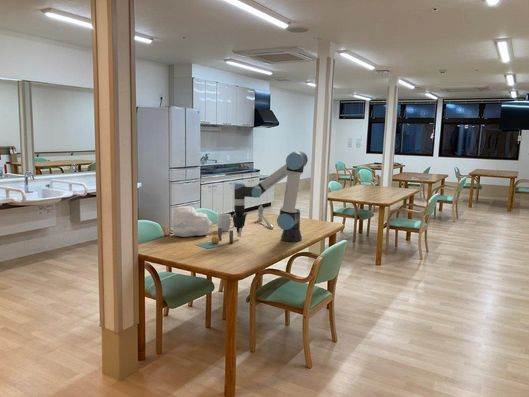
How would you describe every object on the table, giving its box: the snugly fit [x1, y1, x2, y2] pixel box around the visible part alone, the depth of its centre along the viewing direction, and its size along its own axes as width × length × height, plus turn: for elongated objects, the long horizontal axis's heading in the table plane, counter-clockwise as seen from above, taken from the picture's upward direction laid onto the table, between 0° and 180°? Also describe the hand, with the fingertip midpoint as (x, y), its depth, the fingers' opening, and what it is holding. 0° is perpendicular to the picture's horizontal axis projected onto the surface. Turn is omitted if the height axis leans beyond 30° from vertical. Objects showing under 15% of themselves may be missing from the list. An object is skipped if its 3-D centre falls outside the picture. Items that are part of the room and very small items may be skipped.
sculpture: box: [171, 205, 213, 238], centre depth 330 cm, size 26×22×30 cm
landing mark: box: [195, 241, 224, 250], centre depth 301 cm, size 14×14×1 cm
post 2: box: [228, 230, 234, 245], centre depth 306 cm, size 3×3×9 cm
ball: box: [211, 235, 220, 244], centre depth 305 cm, size 6×6×6 cm
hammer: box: [257, 203, 274, 230], centre depth 374 cm, size 5×16×40 cm
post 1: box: [217, 227, 223, 242], centre depth 314 cm, size 3×3×9 cm
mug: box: [216, 212, 235, 232], centre depth 346 cm, size 15×11×13 cm
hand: (239, 236), depth 319 cm, fingers closed
